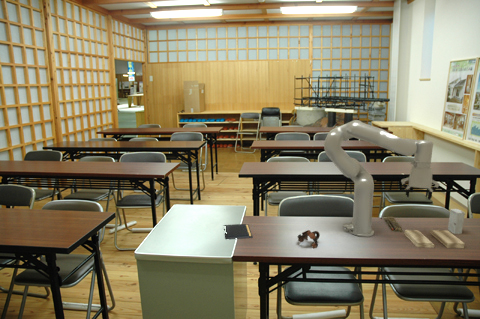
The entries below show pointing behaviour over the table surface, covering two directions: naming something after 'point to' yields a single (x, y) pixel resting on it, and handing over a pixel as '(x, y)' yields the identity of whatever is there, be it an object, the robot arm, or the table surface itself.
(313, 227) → the table surface
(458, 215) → the skincare box
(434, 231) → the laid board
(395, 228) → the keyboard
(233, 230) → the wallet
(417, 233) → the plank
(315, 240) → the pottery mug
